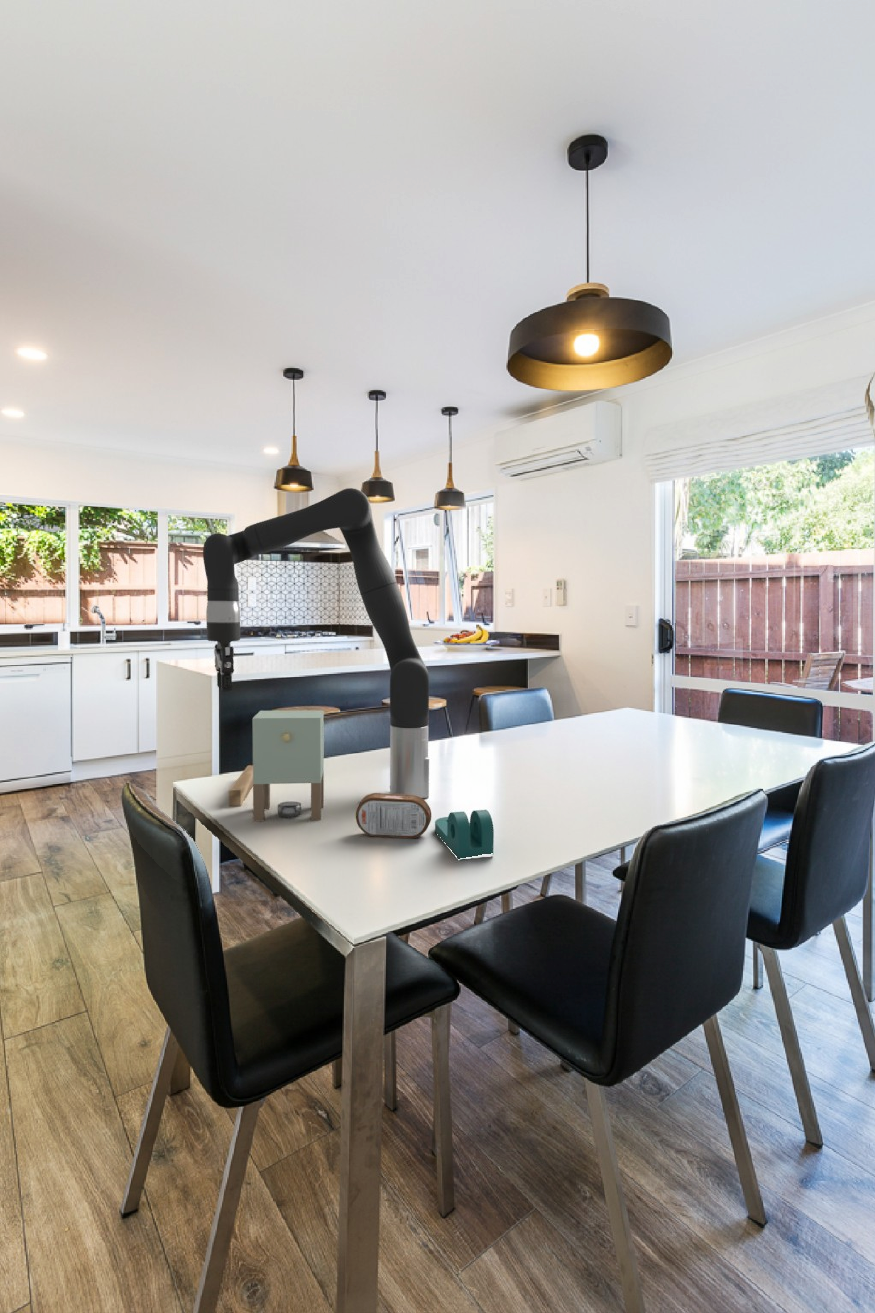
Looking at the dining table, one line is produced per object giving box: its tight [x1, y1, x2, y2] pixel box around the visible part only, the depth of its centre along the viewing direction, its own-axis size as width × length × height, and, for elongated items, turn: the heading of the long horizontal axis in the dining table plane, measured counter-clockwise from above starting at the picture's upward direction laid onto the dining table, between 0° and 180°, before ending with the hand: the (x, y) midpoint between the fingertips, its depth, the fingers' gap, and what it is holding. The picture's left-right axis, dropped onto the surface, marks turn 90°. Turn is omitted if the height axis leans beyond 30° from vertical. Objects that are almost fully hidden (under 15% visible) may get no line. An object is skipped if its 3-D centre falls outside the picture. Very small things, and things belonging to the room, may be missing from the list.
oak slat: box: [228, 764, 253, 807], centre depth 156 cm, size 2×24×4 cm, turn 6°
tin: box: [355, 792, 432, 839], centre depth 127 cm, size 15×3×8 cm, turn 84°
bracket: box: [434, 809, 495, 859], centre depth 124 cm, size 18×7×8 cm, turn 16°
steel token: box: [277, 800, 302, 820], centre depth 139 cm, size 5×5×2 cm
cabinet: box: [252, 709, 325, 822], centre depth 139 cm, size 14×11×22 cm
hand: (224, 689), depth 151 cm, fingers open, 8 cm apart
